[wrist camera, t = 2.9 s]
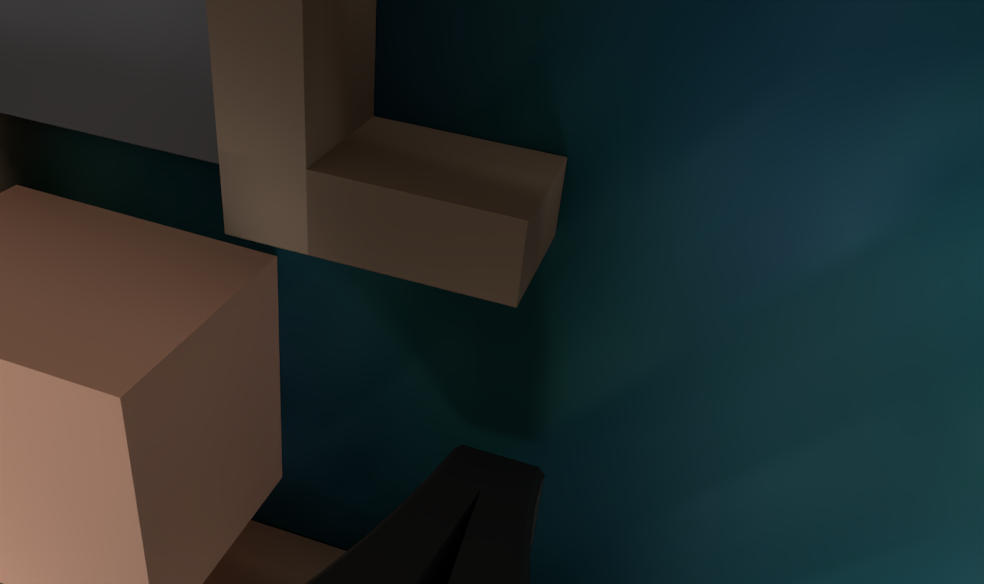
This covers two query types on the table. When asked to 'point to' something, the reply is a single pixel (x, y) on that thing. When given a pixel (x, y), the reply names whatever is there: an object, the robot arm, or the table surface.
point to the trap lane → (287, 155)
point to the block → (130, 395)
